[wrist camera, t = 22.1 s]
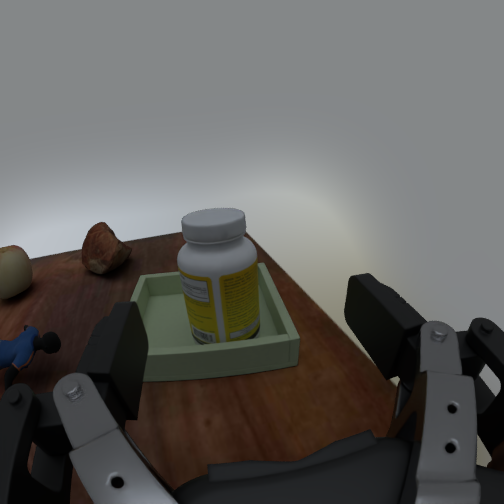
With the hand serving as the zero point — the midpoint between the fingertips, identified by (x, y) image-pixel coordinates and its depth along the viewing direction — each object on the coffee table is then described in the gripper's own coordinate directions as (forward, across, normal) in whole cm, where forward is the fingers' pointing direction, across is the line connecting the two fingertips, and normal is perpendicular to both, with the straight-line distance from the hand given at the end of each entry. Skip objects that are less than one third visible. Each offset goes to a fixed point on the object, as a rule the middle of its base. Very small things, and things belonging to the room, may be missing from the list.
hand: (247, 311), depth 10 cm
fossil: (+31, +19, +11) cm, 38 cm away
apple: (+23, +35, +11) cm, 43 cm away
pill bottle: (+11, +1, +11) cm, 15 cm away
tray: (+13, +3, +11) cm, 18 cm away
